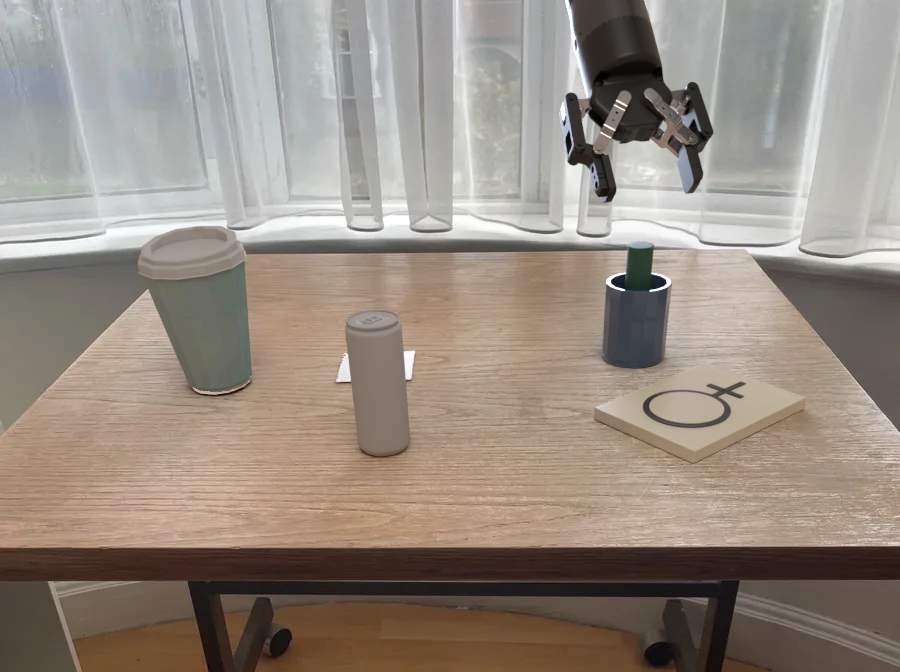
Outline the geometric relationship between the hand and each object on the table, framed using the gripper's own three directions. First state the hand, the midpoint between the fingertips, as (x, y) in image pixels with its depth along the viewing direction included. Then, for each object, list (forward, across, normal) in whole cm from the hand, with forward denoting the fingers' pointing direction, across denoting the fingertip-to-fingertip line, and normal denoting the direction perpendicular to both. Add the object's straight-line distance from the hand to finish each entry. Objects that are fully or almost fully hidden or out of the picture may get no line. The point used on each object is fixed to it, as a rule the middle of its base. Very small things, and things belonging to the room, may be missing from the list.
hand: (652, 193), depth 86 cm
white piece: (+6, -27, +18) cm, 33 cm away
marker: (+10, 0, +13) cm, 16 cm away
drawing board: (+22, 0, +2) cm, 22 cm away
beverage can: (+20, -30, +4) cm, 36 cm away
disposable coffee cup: (+5, -44, +18) cm, 48 cm away
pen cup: (+11, 0, +13) cm, 17 cm away
